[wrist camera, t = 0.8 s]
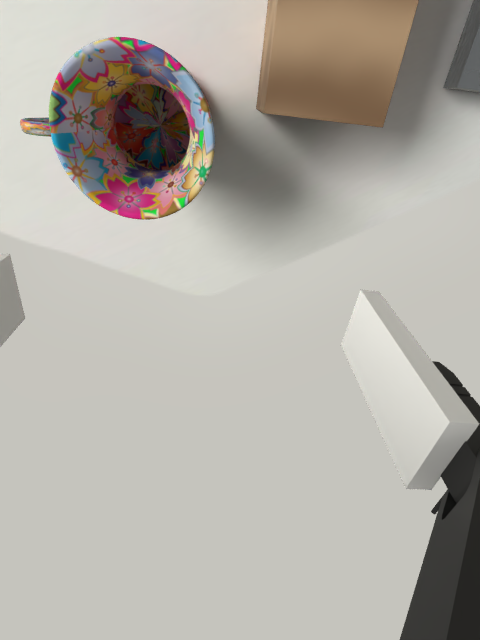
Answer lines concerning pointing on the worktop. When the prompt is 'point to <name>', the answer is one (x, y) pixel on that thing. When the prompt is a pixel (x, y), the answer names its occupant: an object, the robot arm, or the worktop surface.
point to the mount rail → (467, 55)
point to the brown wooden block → (333, 58)
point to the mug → (129, 128)
